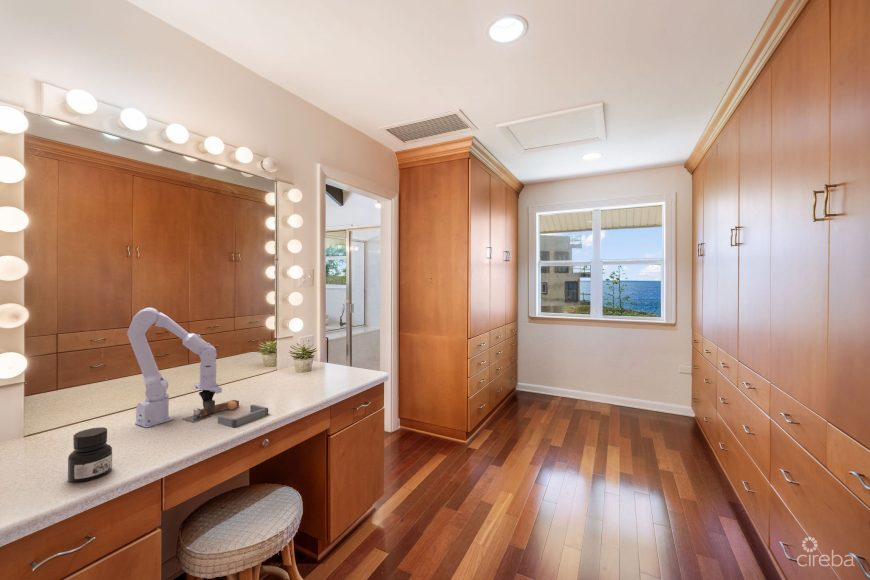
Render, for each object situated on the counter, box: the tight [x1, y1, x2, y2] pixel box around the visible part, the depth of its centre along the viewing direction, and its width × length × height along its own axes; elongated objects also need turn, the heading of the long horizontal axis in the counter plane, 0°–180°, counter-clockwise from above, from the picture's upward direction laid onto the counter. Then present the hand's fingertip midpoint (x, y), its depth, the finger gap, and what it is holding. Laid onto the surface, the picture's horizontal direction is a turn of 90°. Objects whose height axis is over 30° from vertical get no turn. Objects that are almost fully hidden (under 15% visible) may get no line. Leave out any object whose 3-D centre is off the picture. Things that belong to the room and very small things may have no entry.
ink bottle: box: [67, 426, 113, 483], centre depth 100 cm, size 10×9×12 cm
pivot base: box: [181, 407, 212, 423], centre depth 142 cm, size 7×7×4 cm
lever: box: [200, 399, 240, 415], centre depth 150 cm, size 14×4×5 cm, turn 153°
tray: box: [217, 404, 269, 429], centre depth 142 cm, size 15×9×3 cm, turn 155°
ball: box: [227, 400, 238, 411], centre depth 153 cm, size 4×4×4 cm
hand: (207, 407), depth 148 cm, fingers closed, pressing on lever
